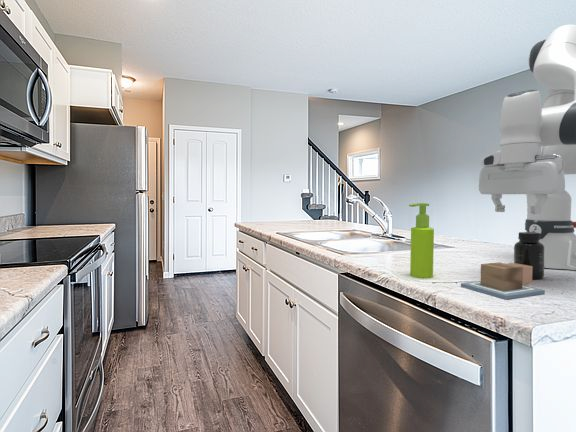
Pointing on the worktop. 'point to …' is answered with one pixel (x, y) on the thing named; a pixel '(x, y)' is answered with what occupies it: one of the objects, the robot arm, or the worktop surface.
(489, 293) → the board
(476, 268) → the worktop surface
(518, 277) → the walnut block
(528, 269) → the terracotta block
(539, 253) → the supplement bottle
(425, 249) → the soap dispenser
